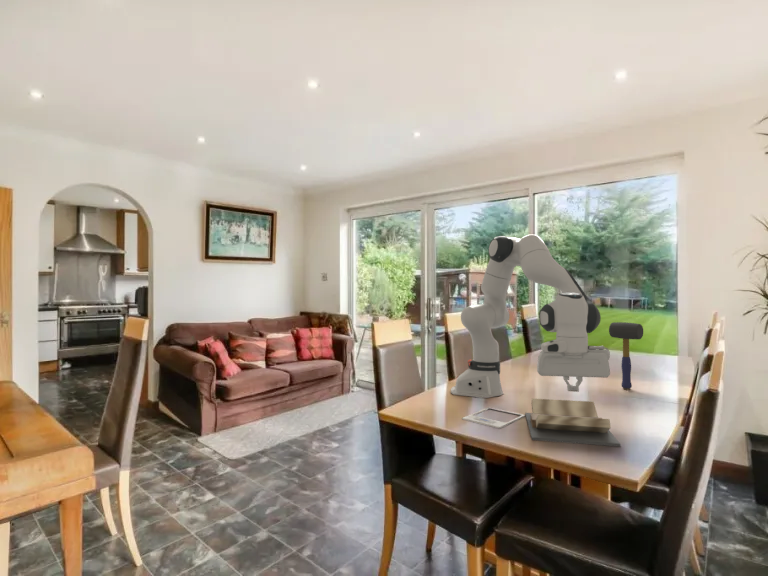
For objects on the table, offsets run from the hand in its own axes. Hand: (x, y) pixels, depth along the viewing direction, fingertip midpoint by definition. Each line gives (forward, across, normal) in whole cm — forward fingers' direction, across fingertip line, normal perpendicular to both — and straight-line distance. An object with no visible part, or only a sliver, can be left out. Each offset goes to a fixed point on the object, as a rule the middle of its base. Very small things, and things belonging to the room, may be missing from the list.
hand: (573, 391), depth 128 cm
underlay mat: (+14, 0, -9) cm, 17 cm away
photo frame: (+14, +23, -16) cm, 32 cm away
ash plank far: (+11, 0, -17) cm, 20 cm away
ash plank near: (+11, +1, -1) cm, 11 cm away
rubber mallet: (+14, -35, -72) cm, 81 cm away
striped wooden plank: (+14, 0, -9) cm, 17 cm away
